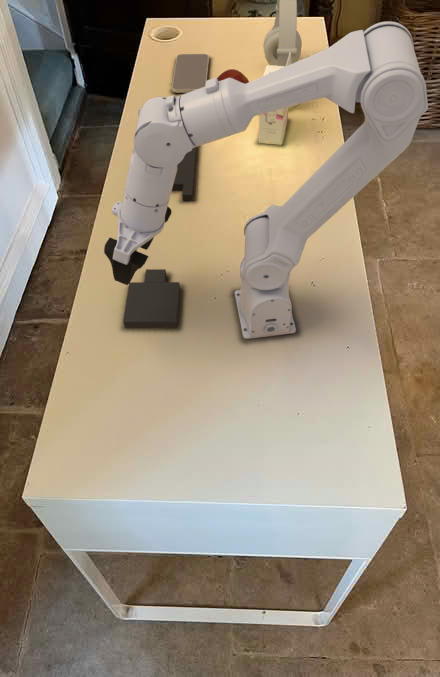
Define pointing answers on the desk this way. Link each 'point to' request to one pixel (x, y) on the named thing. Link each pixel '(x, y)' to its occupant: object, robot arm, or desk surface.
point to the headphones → (283, 35)
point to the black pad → (186, 175)
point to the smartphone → (190, 72)
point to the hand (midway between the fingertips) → (131, 263)
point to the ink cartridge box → (273, 117)
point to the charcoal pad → (152, 302)
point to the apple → (233, 76)
